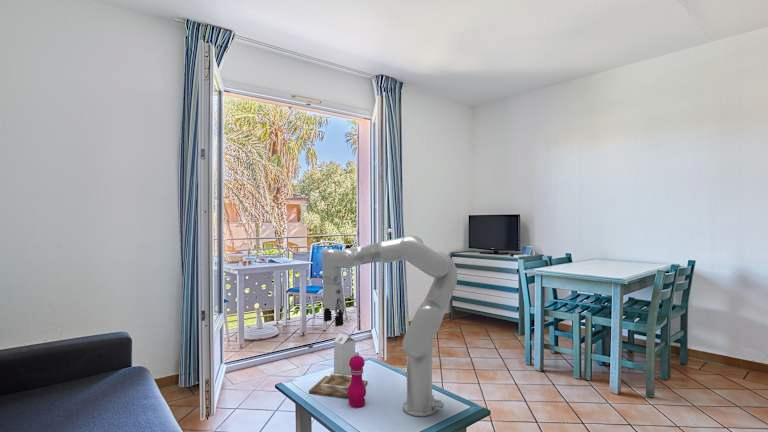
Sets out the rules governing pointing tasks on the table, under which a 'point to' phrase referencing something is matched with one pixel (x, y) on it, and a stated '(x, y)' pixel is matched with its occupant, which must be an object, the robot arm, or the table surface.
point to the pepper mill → (356, 382)
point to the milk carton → (343, 353)
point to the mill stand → (333, 386)
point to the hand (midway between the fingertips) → (333, 323)
